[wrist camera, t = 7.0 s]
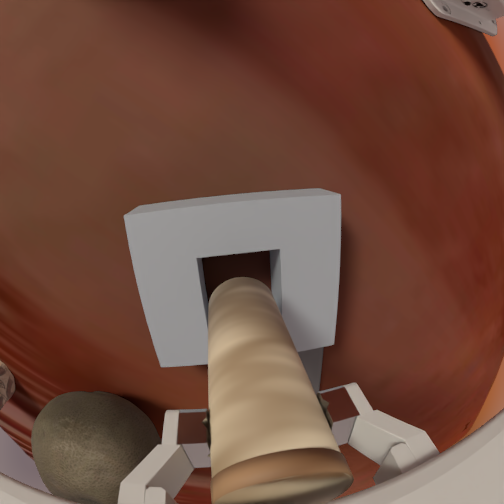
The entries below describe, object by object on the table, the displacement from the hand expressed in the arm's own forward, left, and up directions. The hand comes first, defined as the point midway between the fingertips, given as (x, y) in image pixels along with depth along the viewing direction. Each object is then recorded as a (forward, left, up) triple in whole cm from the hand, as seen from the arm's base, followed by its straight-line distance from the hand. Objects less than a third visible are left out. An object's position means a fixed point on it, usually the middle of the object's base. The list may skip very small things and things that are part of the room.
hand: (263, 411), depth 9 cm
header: (0, 0, -14) cm, 14 cm away
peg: (0, 0, -8) cm, 8 cm away
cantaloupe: (+16, +15, -15) cm, 26 cm away
